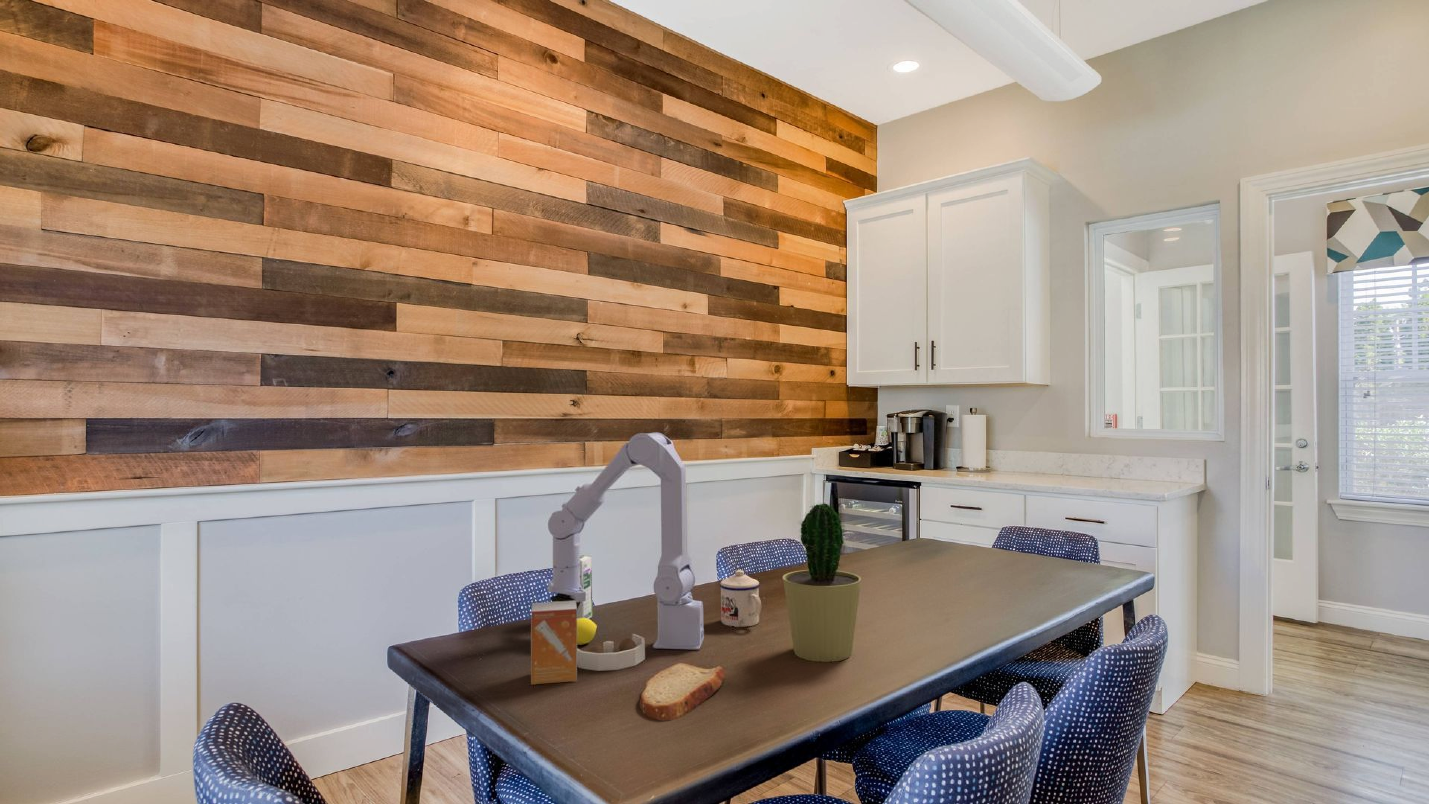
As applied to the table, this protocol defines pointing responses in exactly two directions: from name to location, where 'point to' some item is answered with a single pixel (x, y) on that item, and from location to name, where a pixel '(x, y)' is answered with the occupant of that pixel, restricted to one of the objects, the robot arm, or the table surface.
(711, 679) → the slice of bread
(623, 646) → the walnut bead
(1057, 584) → the table surface
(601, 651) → the walnut bead
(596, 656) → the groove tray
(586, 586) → the syrup box
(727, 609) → the teacup with lid
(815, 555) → the potted cactus
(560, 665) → the small box
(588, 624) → the lemon
